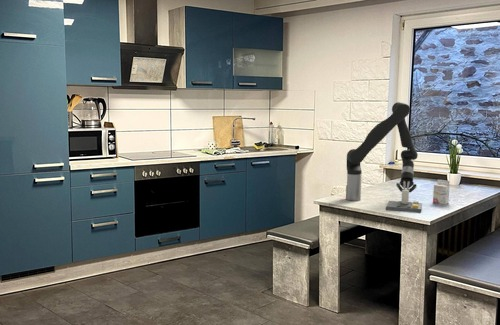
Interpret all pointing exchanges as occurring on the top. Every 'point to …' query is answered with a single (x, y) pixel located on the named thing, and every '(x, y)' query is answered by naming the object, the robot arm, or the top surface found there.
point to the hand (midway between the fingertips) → (405, 196)
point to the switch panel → (404, 206)
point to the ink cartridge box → (441, 192)
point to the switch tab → (405, 196)
